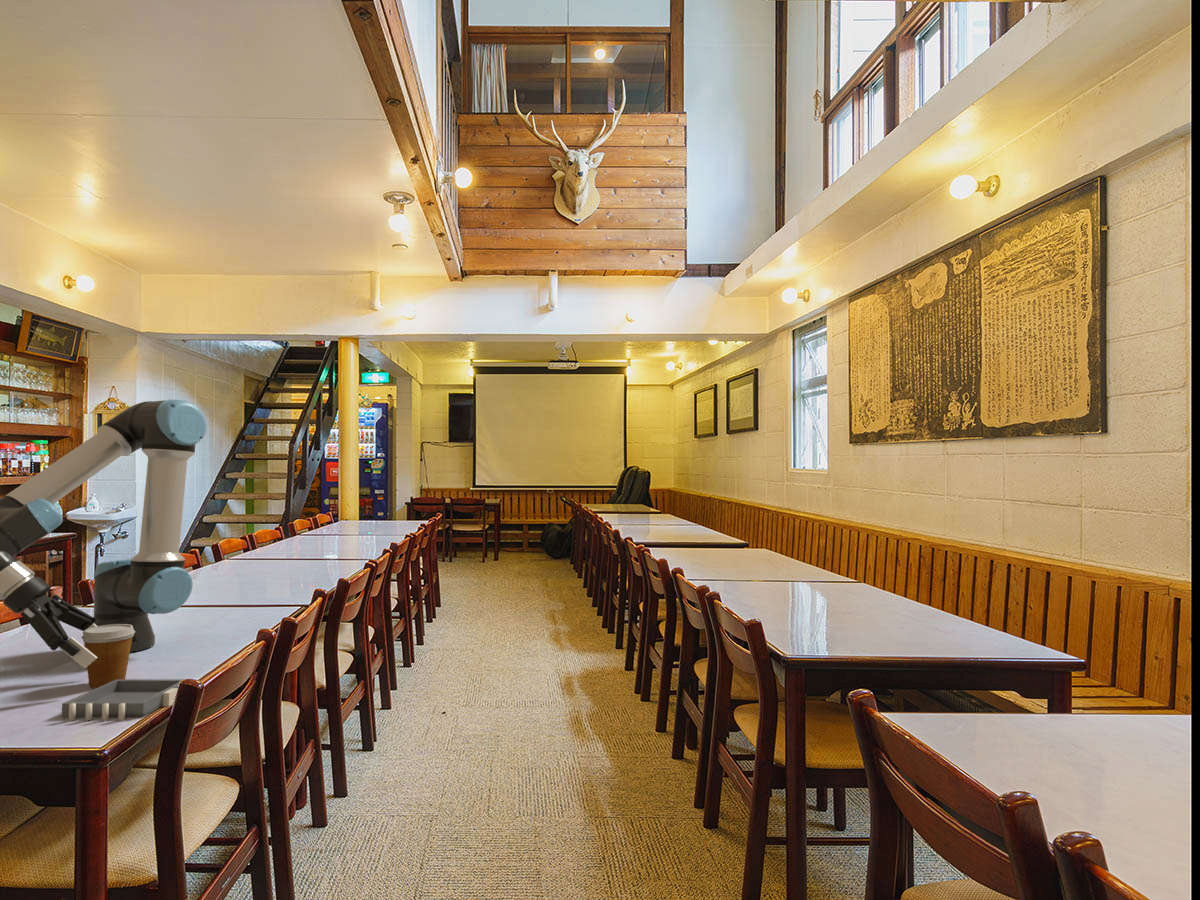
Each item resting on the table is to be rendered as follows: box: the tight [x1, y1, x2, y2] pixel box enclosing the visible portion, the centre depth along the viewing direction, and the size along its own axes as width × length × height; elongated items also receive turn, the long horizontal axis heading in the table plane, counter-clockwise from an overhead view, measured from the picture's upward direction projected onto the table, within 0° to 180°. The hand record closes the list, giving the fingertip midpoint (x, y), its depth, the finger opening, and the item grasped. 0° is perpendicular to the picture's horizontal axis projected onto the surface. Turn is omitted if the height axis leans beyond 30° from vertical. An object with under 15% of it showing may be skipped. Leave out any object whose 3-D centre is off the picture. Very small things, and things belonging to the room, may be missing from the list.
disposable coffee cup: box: [81, 624, 135, 689], centre depth 148 cm, size 10×10×12 cm
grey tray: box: [61, 678, 186, 722], centre depth 135 cm, size 17×16×3 cm
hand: (102, 655), depth 147 cm, fingers open, 13 cm apart
